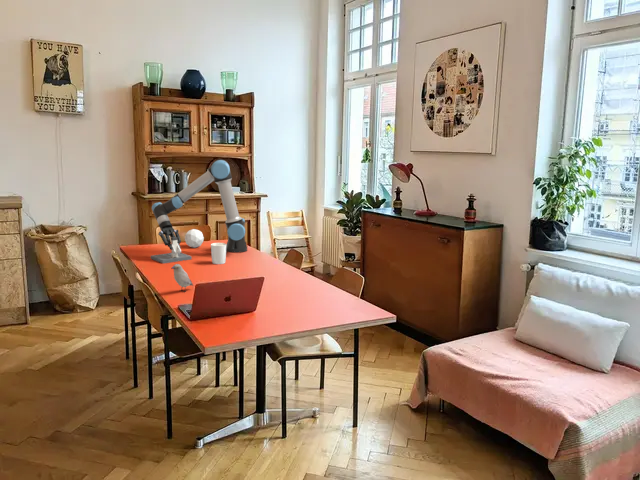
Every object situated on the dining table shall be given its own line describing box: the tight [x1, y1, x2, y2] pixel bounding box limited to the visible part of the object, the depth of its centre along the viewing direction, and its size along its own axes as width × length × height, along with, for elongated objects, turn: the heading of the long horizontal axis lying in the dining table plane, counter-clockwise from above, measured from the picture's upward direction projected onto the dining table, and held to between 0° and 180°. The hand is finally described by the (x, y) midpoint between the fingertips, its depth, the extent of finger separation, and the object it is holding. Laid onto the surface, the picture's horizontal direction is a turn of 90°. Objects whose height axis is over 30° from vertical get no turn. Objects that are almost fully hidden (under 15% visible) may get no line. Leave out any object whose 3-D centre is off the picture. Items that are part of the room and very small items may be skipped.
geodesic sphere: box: [184, 228, 205, 249], centre depth 385 cm, size 14×14×14 cm
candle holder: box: [210, 242, 227, 265], centre depth 339 cm, size 10×10×12 cm
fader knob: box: [170, 236, 178, 258], centre depth 341 cm, size 3×3×13 cm
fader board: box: [150, 252, 193, 264], centre depth 346 cm, size 20×17×2 cm
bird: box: [171, 263, 194, 293], centre depth 274 cm, size 5×14×15 cm, turn 142°
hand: (177, 252), depth 339 cm, fingers closed on fader knob, 3 cm apart
